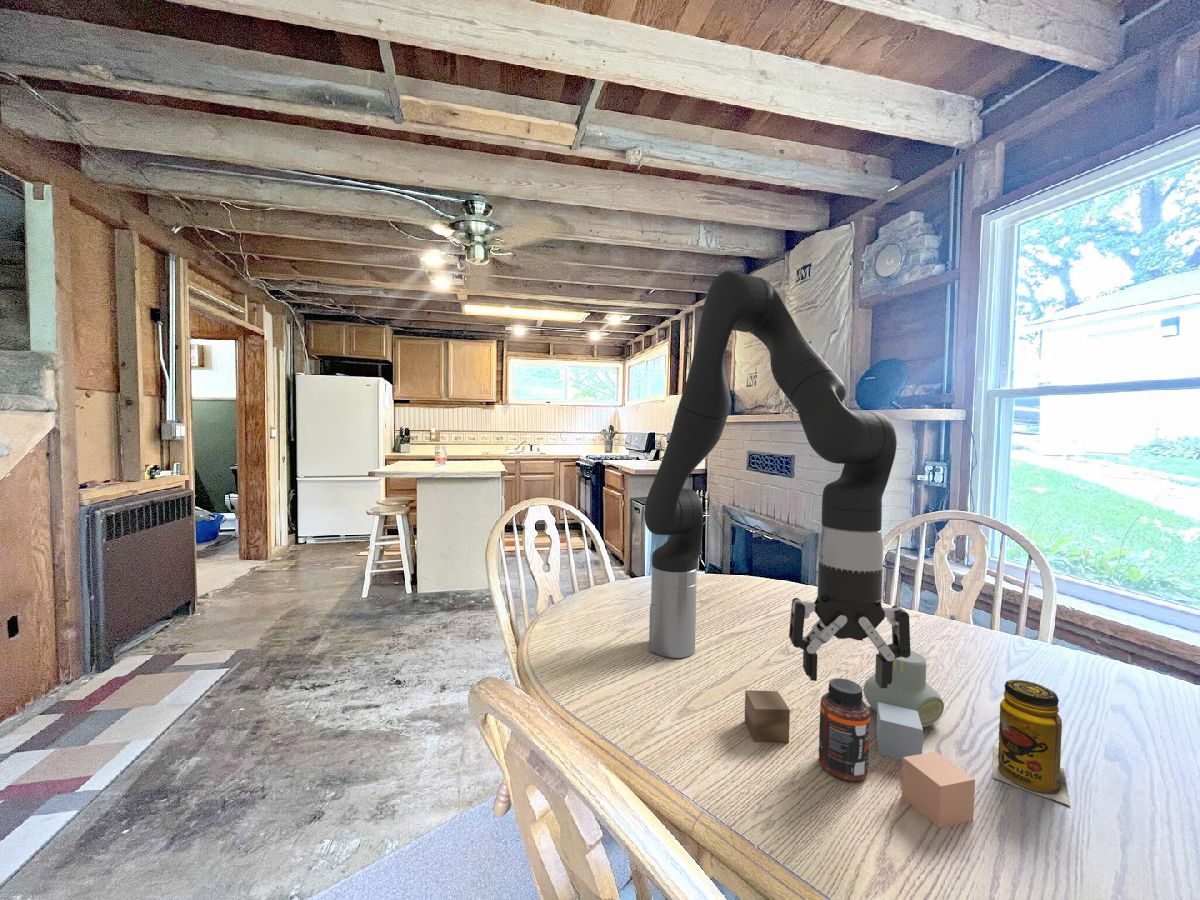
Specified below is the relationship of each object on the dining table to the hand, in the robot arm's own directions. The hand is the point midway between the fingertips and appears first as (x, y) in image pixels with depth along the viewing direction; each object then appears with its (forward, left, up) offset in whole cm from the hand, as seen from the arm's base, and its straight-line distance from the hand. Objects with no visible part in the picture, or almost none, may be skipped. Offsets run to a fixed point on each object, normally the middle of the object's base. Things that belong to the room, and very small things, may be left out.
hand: (846, 681), depth 64 cm
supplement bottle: (0, 0, -12) cm, 12 cm away
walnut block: (-9, +6, -12) cm, 16 cm away
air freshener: (+13, +15, -12) cm, 23 cm away
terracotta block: (+9, -5, -12) cm, 16 cm away
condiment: (+24, +4, -12) cm, 27 cm away
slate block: (+9, +6, -12) cm, 16 cm away
